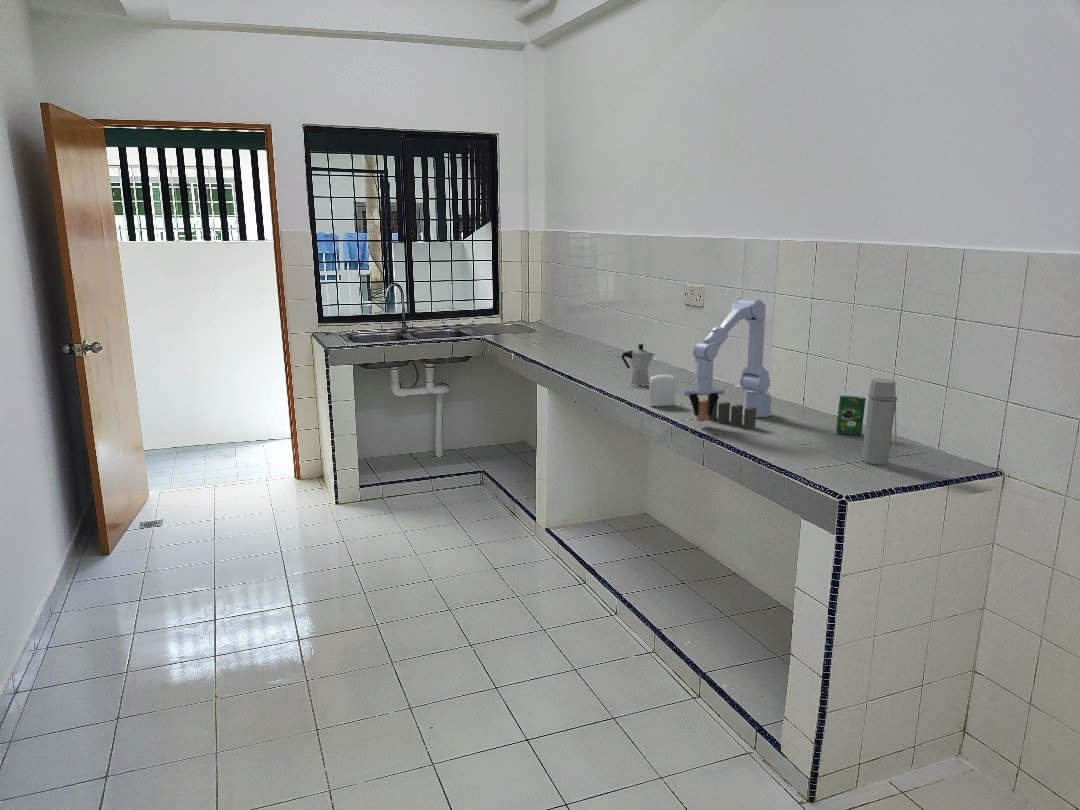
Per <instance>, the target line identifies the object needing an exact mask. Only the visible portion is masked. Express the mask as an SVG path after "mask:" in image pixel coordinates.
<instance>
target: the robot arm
mask: <svg viewBox="0 0 1080 810" xmlns="http://www.w3.org/2000/svg"><path fill="white" fill-rule="evenodd" d="M766 308H767V307H766V303H764V301H763V300H760V299H750V298H749V299H748V298H742V297H738V298H736V299H735V301H734V302H733V303H732V304H731V311H730V312H729V313H728V315H726V318H724V320H723V322H722V323H721V324H720V326H716V327H713V328H712V329H711V331H710V332H709V333H708V335H707V336H706V337H705V338H704V340H702V341H700V342H698V343H697V344H696V345H695V346H694V348H693V351H692V354H693V357H694V362H695V364H696V367H695V387H693V388H687V389H685V388H683V389H682V396H683V397H687V396H688V398H689V400H690V402H691V406H692V409H693V415H694V416H696V417H697V416H698V402H699V401H700V398H699V396H707V398H708V399H707V400H709V415H712V411H713V408H714V406H715V404H716V402H717V400H719V399H720V397H719V395H722V396H723V395H725V393H726V389H725V388H722V387H721V388H720V387H713V378H714V376H713V375H714V374H713V373H714V360H716V358H717V357H718V353H719V350H720V347H722V345H723V344H724V343H725V341H726V340H727V339H728V337H729V336H728V333H729V332H730V331H731V330H732V329H733V328H734V327H735V326H736V325H737V324H738V323H739V322H740V321H741V320H745V321H746V323H748V324H749V325H748V326H749V328H748V348H747V349H748V350H747V366H746V367H744V368H743V369H742V370H741V376H740V379H739V385H740V387H741V388H742V392H744V393H743V394H744V395H743V416H744V412H745V409H746V408H749V407H754V408H756V418H768V417H770V416H771V417H772V414H771V412H772V395H771V393H770V392H769V388H770V386H771V381H770V379H771V378H770V373H769V371H768V370H767V369H766V368H765V366H764V365H763V364H764V352H765V351H764V347H765V328H766V326H765V324H766Z"/></svg>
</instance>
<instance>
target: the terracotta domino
mask: <svg viewBox="0 0 1080 810" xmlns="http://www.w3.org/2000/svg"><path fill="white" fill-rule="evenodd" d="M708 418H709V400H708V399H702V400H699V402H698V416H696V421H698V422H702V423H703V422H706V421H709V420H708Z"/></svg>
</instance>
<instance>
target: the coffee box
mask: <svg viewBox="0 0 1080 810" xmlns="http://www.w3.org/2000/svg"><path fill="white" fill-rule="evenodd" d="M865 407H866V397H865V396H855V395H854V396H853V395H839V401H838V411H837V418H836V419H837V420H836V426H835V427H836V430H835V433H836V432H837V433H836V435H843V434H844V435H847V434H856V435H855V436H862V435H863V434H862V433H863V424H864V415H865Z"/></svg>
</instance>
